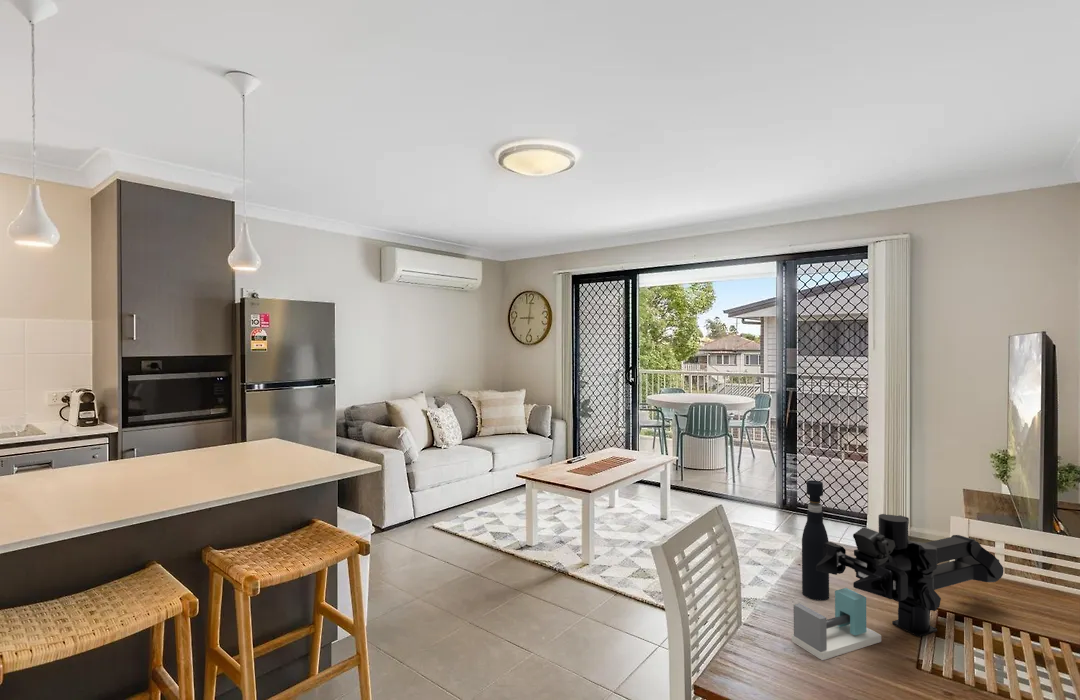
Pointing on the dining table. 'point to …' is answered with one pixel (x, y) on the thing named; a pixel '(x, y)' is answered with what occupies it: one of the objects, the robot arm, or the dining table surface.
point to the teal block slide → (827, 634)
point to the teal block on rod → (851, 609)
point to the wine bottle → (814, 546)
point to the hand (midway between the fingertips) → (834, 576)
